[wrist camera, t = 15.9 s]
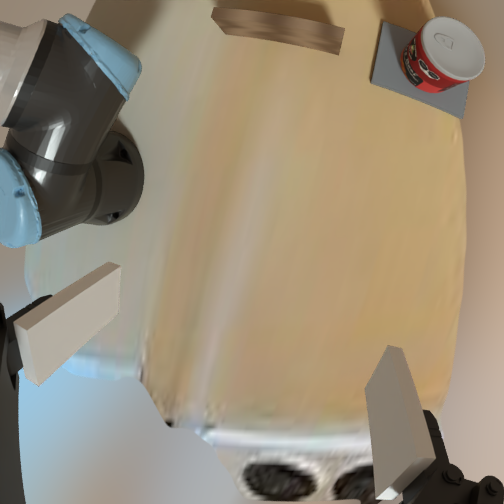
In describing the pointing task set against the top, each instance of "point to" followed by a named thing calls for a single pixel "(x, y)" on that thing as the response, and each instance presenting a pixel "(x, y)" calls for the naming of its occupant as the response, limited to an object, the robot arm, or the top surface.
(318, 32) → the walnut screen
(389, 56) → the slate mat
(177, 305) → the top surface
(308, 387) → the top surface
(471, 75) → the canned food
